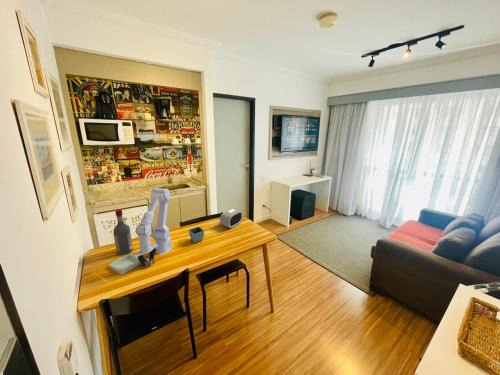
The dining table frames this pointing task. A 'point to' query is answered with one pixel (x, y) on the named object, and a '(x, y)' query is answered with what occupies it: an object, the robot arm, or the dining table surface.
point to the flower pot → (196, 234)
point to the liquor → (122, 235)
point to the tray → (124, 264)
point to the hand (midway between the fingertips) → (147, 262)
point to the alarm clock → (231, 218)
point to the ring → (149, 262)
